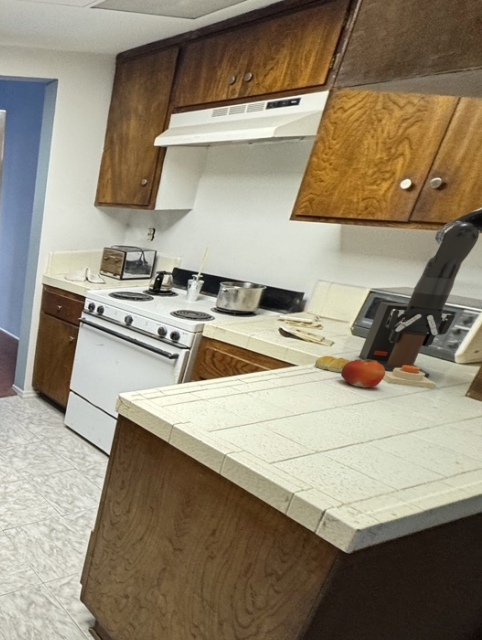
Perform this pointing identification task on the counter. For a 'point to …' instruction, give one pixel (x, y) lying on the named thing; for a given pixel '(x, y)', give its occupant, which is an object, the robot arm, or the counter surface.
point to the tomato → (363, 373)
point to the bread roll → (331, 363)
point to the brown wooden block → (406, 348)
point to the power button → (410, 369)
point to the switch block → (408, 378)
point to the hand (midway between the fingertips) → (408, 344)
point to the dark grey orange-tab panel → (385, 336)
